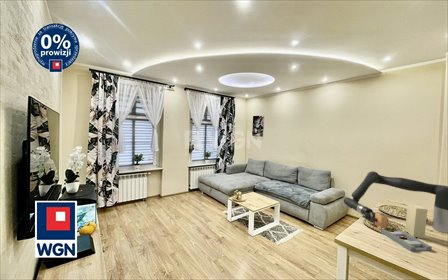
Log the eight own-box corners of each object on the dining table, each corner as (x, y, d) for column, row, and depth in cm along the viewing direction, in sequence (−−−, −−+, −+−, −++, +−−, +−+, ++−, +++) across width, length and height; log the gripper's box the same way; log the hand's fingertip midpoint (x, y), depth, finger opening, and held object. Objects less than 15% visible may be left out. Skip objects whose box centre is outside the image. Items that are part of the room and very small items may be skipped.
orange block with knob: (374, 225, 142) (375, 211, 141) (380, 225, 142) (381, 211, 142) (380, 229, 137) (381, 214, 136) (386, 229, 137) (387, 214, 137)
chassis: (380, 232, 132) (380, 229, 132) (398, 232, 133) (398, 228, 133) (410, 251, 112) (410, 247, 112) (431, 250, 113) (431, 246, 113)
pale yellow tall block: (426, 238, 126) (429, 209, 124) (413, 237, 127) (416, 208, 126) (416, 232, 133) (419, 204, 132) (404, 231, 135) (407, 203, 134)
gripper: (356, 206, 154) (374, 215, 138) (372, 206, 155) (391, 215, 139) (356, 215, 154) (373, 225, 138) (372, 215, 155) (390, 225, 139)
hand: (382, 220), depth 138 cm, fingers open, 8 cm apart
